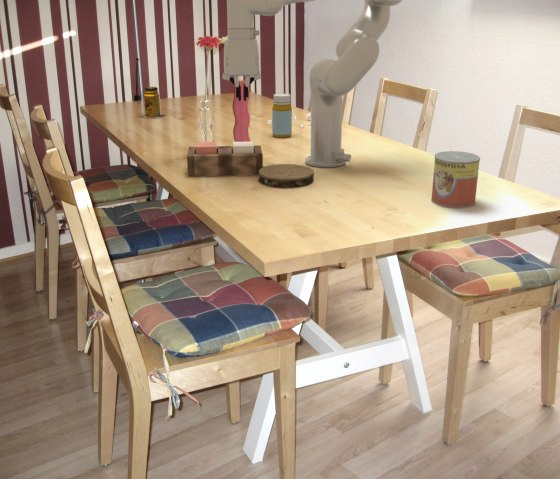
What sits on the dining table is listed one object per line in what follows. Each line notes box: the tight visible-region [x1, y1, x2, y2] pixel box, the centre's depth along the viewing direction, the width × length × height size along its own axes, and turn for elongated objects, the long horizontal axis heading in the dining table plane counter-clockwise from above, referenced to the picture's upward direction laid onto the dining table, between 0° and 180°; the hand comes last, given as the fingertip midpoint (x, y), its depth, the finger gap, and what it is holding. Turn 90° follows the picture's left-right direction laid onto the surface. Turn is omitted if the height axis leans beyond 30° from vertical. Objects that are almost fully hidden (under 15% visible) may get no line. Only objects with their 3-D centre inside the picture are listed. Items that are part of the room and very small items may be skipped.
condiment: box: [143, 86, 167, 119], centre depth 287 cm, size 7×8×12 cm
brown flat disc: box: [258, 163, 315, 189], centre depth 200 cm, size 16×16×3 cm
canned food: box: [430, 150, 481, 209], centre depth 180 cm, size 11×11×12 cm
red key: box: [195, 141, 217, 154], centre depth 208 cm, size 6×6×5 cm
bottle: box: [271, 93, 293, 139], centre depth 251 cm, size 7×7×15 cm
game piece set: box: [266, 112, 311, 129], centre depth 275 cm, size 19×20×4 cm
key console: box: [186, 145, 264, 177], centre depth 209 cm, size 22×12×6 cm, turn 95°
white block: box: [232, 140, 255, 154], centre depth 209 cm, size 6×6×5 cm
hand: (242, 99), depth 203 cm, fingers closed
